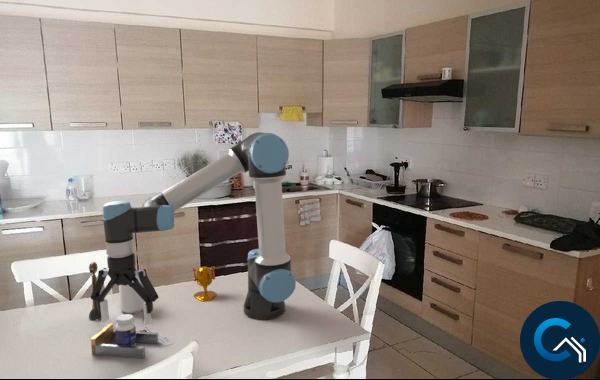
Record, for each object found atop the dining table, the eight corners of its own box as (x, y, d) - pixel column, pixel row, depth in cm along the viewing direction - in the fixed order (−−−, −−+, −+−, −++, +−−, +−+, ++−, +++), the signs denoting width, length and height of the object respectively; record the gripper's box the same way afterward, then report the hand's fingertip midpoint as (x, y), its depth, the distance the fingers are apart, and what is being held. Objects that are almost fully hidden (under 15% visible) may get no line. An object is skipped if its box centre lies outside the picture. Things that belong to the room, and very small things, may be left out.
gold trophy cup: (214, 290, 179) (213, 261, 178) (217, 300, 169) (216, 270, 167) (193, 292, 177) (192, 263, 175) (194, 302, 167) (193, 272, 165)
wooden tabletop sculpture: (101, 320, 151) (98, 264, 148) (87, 322, 150) (83, 265, 147) (105, 313, 157) (101, 259, 154) (90, 314, 156) (87, 260, 153)
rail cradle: (158, 341, 137) (157, 326, 136) (143, 358, 127) (142, 342, 127) (110, 338, 139) (109, 323, 138) (92, 354, 129) (90, 338, 129)
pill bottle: (135, 351, 131) (134, 320, 130) (115, 354, 130) (113, 322, 128) (137, 342, 137) (135, 312, 135) (117, 344, 135) (115, 314, 134)
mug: (142, 314, 156) (141, 284, 155) (116, 314, 156) (115, 284, 154) (151, 300, 168) (150, 272, 167) (127, 301, 168) (126, 273, 166)
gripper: (166, 251, 131) (171, 317, 134) (88, 249, 134) (95, 314, 137) (155, 259, 123) (160, 329, 127) (73, 257, 127) (80, 325, 130)
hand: (126, 322), depth 132 cm, fingers open, 13 cm apart
